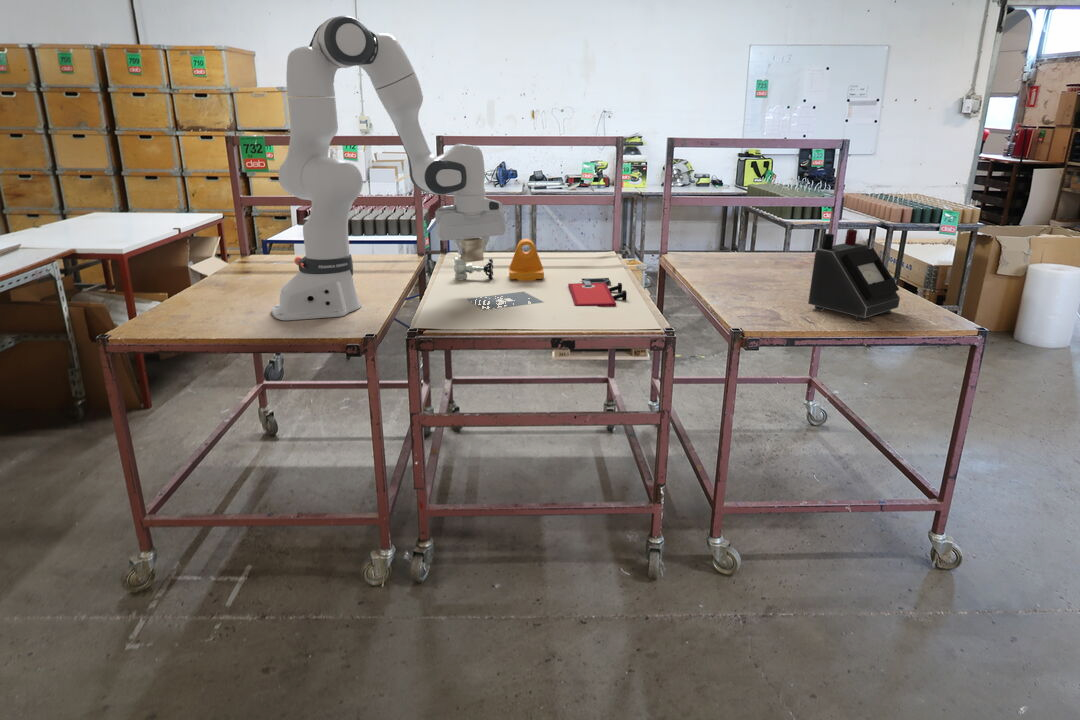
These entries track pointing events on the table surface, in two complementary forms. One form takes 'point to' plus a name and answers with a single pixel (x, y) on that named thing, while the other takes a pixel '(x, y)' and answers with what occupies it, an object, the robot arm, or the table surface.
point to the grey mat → (519, 298)
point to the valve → (471, 268)
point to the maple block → (472, 249)
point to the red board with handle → (595, 292)
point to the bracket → (526, 263)
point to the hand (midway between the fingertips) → (472, 253)
